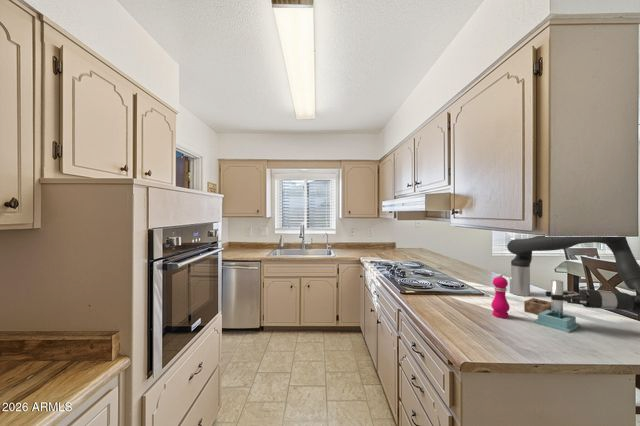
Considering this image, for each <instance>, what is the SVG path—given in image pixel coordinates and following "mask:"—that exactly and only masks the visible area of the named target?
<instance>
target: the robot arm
mask: <svg viewBox="0 0 640 426" xmlns="http://www.w3.org/2000/svg"><path fill="white" fill-rule="evenodd" d="M590 243H591V244H592V243H593V244H597V243H599V244H604V245H606V246H607V247H608V248H609V250H610V251H611V252H612V254H613V257H614V260H615V265H616V270H617V272H618V274H619V276H620V278H621V279H622V281H623V283H624V284H625V286H626V287H627V288H628V289H629V290H633V291H637V293H638V294H639V295H636V296H635V295H634V296H633V295H630V293H627V292H622V291H621V292H619V291H609V290H604V289H603V290H601V289H588V288H587V289H586V288H585V289H581V290H580V291H579V292H576V291H571V290H563V296H562V295H553V294H552V295H551V291H548V290H547V291H545V296H546V297H548V298H549V297H550V300H551V299H552V300H559V301H563V303H565V302H566V303H568V304H575V305H580V306H583V307H585V308H588V309H589V308H590V309H600V310H617V311H618V310H620V311H628V312H633V313H637V314H640V265H639V263H638V261H637V259H636V258H635V256H634V254H633V252H632V250H631V247H630V245H629V243H628V239H627V237H626V236H625V237H545V236H540V235H537V236H533V237H528V238H517V239H516V238H514V239H512V240H510V241H509V242H508V243H507V245H506V246H507V250H508V252H509V253H511V254H513V255H515V257H514V258H513V259H511V261H510V268H511V269H510V270H511V271H510V275H511V276H510V277H509V293H510V294H513V295H515V296H521V297H529V296H531V263H532V260H533V259H532V258H533V252H543V251H544V252H545V251H546V252H547V251H548V252H549V251H550V252H551V251H559V250H565V249H569V248H572V247H574V246H576V245H580V244H590Z"/></svg>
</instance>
